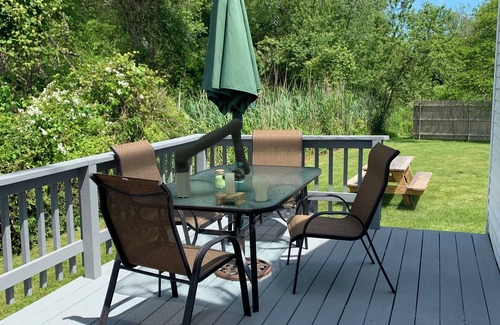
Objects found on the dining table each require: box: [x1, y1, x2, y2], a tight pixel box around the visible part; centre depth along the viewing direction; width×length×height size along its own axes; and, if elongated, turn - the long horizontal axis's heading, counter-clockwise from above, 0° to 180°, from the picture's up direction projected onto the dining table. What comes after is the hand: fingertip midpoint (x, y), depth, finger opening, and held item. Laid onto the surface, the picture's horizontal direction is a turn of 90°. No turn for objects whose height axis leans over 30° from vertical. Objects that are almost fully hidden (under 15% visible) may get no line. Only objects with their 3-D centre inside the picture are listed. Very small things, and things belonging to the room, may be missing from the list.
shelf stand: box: [214, 191, 247, 207], centre depth 317 cm, size 16×12×6 cm
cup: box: [251, 175, 270, 202], centre depth 321 cm, size 11×11×15 cm
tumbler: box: [224, 172, 236, 195], centre depth 315 cm, size 6×6×13 cm
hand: (231, 178), depth 319 cm, fingers open, 8 cm apart
